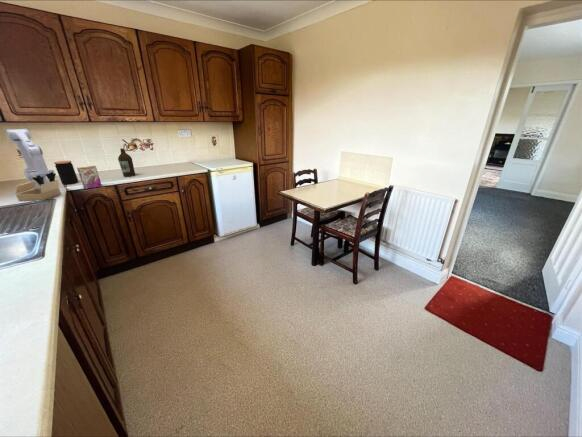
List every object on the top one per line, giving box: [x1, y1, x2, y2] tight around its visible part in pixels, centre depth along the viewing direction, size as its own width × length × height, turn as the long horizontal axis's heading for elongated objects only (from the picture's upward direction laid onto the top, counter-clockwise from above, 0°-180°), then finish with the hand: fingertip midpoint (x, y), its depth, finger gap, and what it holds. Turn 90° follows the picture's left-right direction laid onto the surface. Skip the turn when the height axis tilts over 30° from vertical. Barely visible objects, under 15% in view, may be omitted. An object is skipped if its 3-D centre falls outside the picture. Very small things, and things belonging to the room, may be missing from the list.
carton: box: [15, 187, 62, 202], centre depth 167 cm, size 14×16×4 cm
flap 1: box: [15, 181, 36, 195], centre depth 165 cm, size 13×6×1 cm
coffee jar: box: [53, 160, 79, 186], centre depth 200 cm, size 11×11×18 cm
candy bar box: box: [76, 164, 103, 190], centre depth 188 cm, size 11×5×16 cm, turn 141°
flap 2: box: [41, 179, 60, 193], centre depth 165 cm, size 13×6×1 cm
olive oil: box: [117, 147, 136, 178], centre depth 222 cm, size 11×11×25 cm
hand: (48, 185), depth 165 cm, fingers open, 7 cm apart
